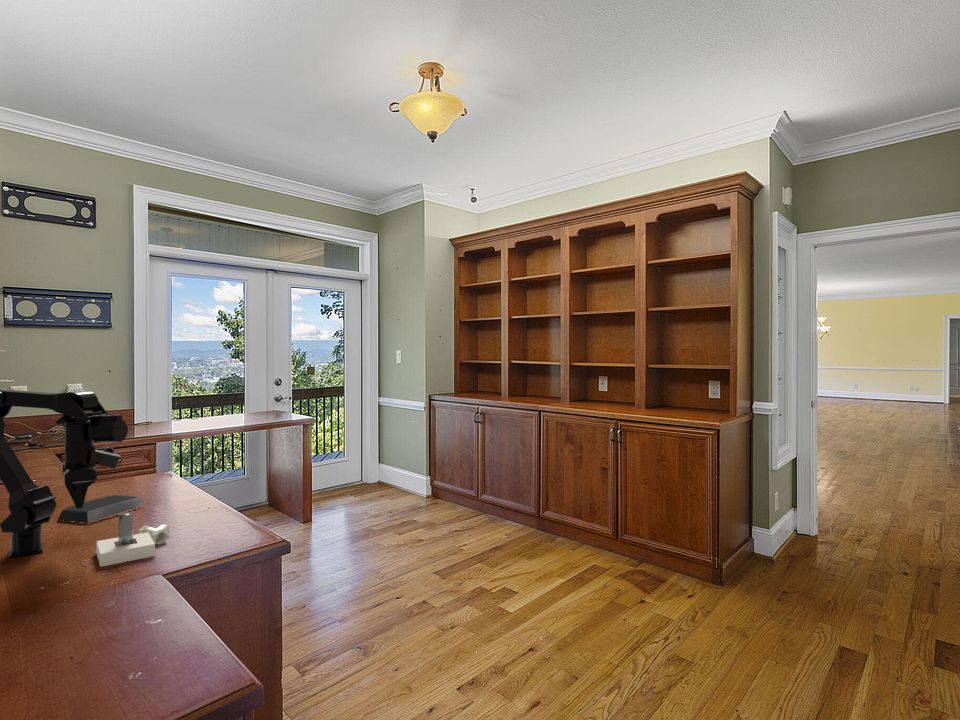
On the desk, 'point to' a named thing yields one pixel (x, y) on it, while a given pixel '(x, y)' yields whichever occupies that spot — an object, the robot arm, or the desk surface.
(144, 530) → the pipe fitting
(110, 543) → the hole block
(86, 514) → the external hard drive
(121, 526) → the metal peg
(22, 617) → the desk surface
